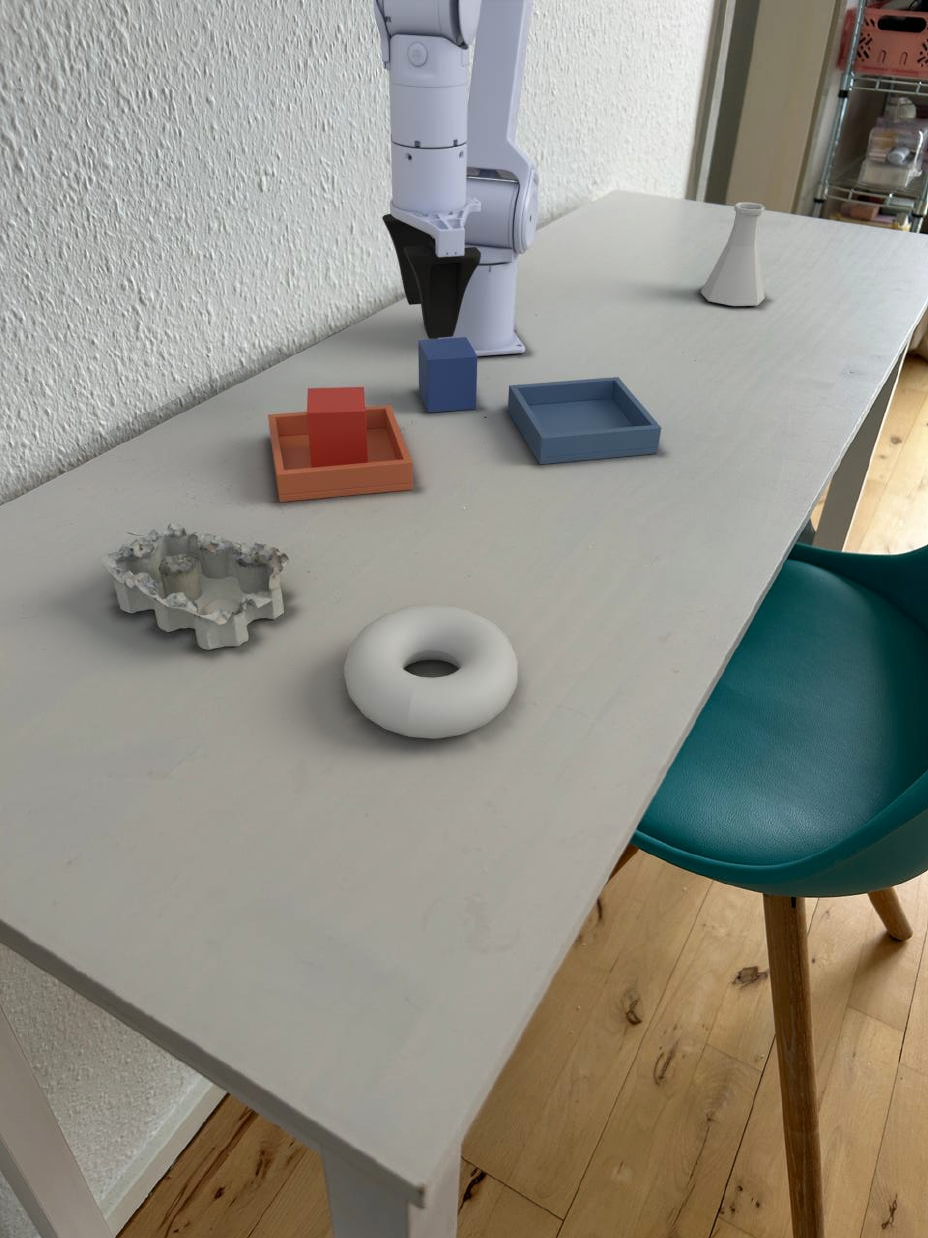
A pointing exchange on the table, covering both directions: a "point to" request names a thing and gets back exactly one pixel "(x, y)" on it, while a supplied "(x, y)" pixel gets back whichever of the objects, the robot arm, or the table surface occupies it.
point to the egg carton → (199, 583)
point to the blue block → (447, 374)
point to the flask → (738, 262)
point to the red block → (337, 426)
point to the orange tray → (303, 482)
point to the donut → (423, 699)
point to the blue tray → (582, 420)
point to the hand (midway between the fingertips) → (429, 318)
